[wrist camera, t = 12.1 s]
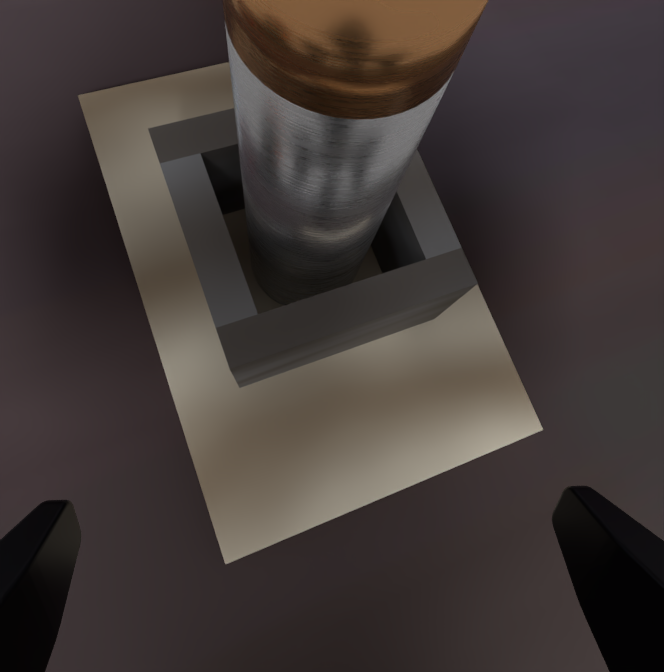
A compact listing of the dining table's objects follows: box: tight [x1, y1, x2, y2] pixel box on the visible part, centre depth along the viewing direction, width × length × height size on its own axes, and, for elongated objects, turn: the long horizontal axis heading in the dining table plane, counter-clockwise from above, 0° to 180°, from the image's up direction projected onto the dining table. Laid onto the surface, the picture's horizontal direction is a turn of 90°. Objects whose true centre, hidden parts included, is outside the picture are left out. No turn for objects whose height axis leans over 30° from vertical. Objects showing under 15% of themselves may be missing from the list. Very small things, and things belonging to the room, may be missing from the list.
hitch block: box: [78, 62, 543, 564], centre depth 17 cm, size 18×12×5 cm, turn 21°
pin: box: [223, 0, 488, 306], centre depth 12 cm, size 4×4×12 cm
